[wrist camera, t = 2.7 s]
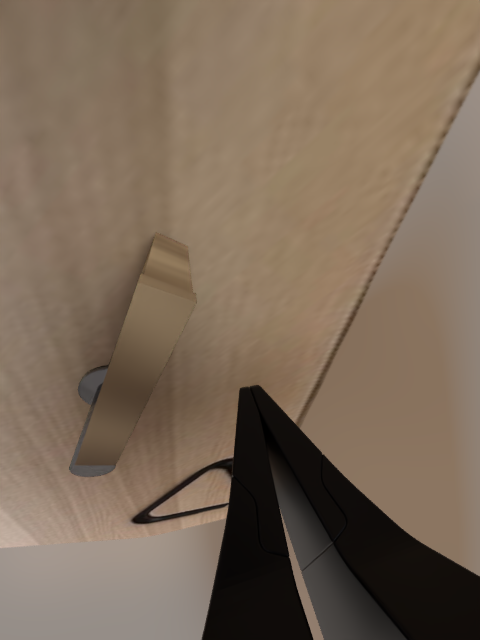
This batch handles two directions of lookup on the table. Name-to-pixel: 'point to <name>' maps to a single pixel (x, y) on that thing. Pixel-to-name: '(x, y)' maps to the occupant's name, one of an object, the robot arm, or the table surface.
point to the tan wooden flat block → (140, 350)
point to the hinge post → (89, 394)
